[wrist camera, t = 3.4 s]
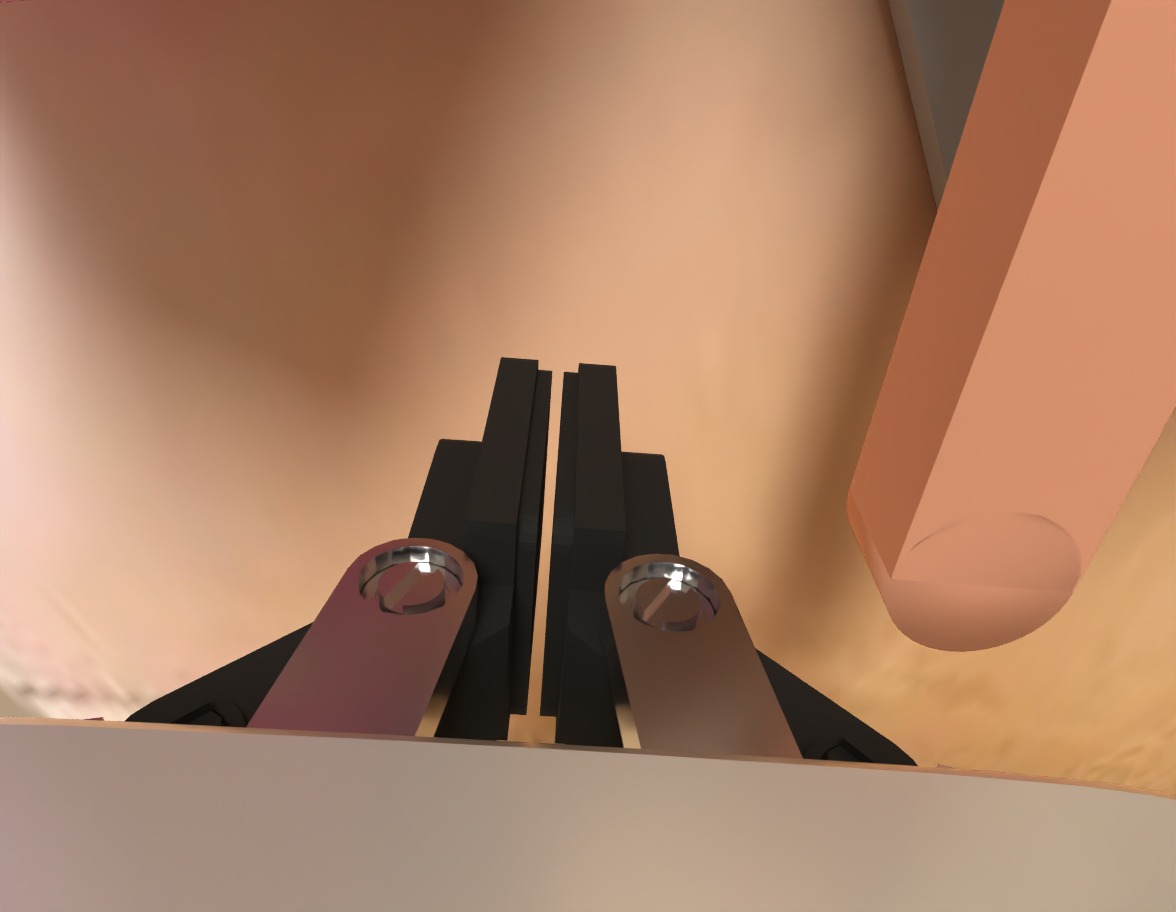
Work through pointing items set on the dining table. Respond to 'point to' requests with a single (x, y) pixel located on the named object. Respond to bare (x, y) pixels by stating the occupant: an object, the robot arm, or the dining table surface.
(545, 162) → the dining table surface
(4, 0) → the gum box
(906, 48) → the board
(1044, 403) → the latch arm
